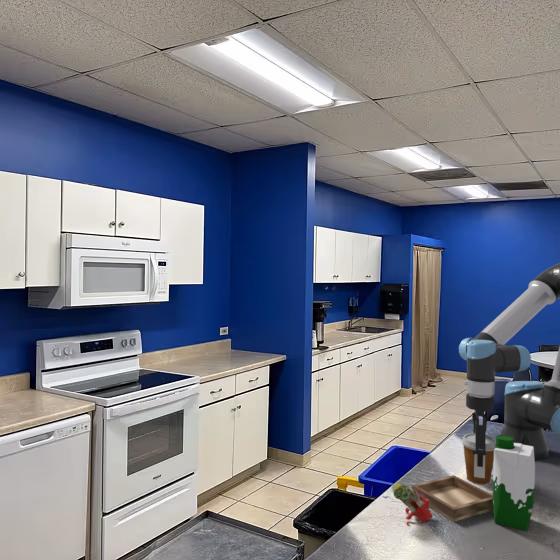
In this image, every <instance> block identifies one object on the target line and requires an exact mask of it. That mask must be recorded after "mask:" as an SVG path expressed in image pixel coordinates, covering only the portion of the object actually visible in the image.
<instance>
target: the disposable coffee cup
mask: <svg viewBox="0 0 560 560" xmlns="http://www.w3.org/2000/svg"><path fill="white" fill-rule="evenodd" d="M461 443H462V446H463V447H462V448H463V454H464V462H465V464H464V465H465V473H466V480H468V482H471V483H472V484H473V483H474V484H476V483H477V485H488V484H490V483H491V479H492V474H493V464H494V448H495V444H496V438H494V437H492V436H489V435H487V434H486V455H485V478H479V477H474V461H475V454H473V451H475V434H473V433H467V434H464V435H463V437H462V439H461ZM478 450H482V449H478ZM489 482H490V483H489ZM487 483H488V484H487Z"/></svg>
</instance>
